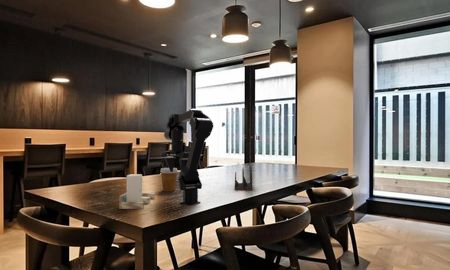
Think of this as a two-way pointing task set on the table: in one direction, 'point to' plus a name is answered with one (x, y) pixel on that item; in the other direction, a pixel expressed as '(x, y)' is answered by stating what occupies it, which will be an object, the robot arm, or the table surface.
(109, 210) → the table surface
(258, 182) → the table surface
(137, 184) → the plug block
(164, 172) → the disposable coffee cup
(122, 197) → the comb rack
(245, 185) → the letter holder
